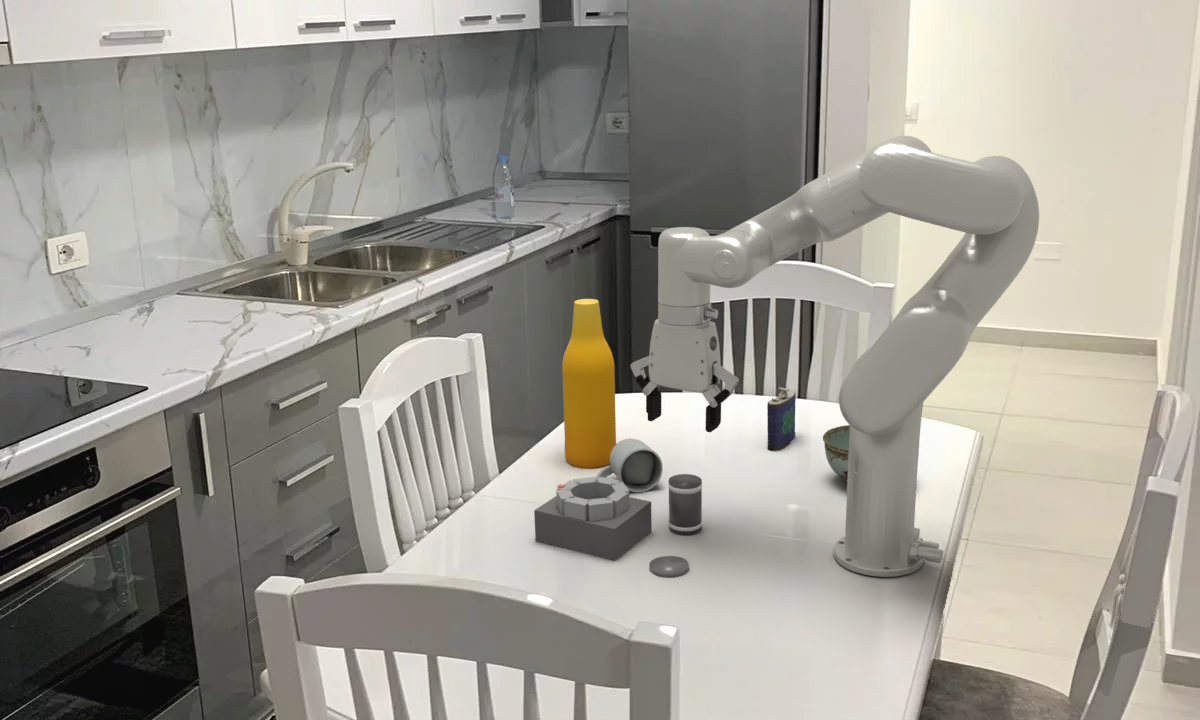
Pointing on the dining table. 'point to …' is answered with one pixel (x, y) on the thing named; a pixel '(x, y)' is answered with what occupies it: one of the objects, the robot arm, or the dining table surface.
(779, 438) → the flask
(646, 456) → the ceramic mug
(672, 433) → the dining table surface
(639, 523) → the camera body
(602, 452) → the beer bottle
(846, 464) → the bowl
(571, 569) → the dining table surface
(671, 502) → the lens
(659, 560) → the lens cap
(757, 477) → the dining table surface
